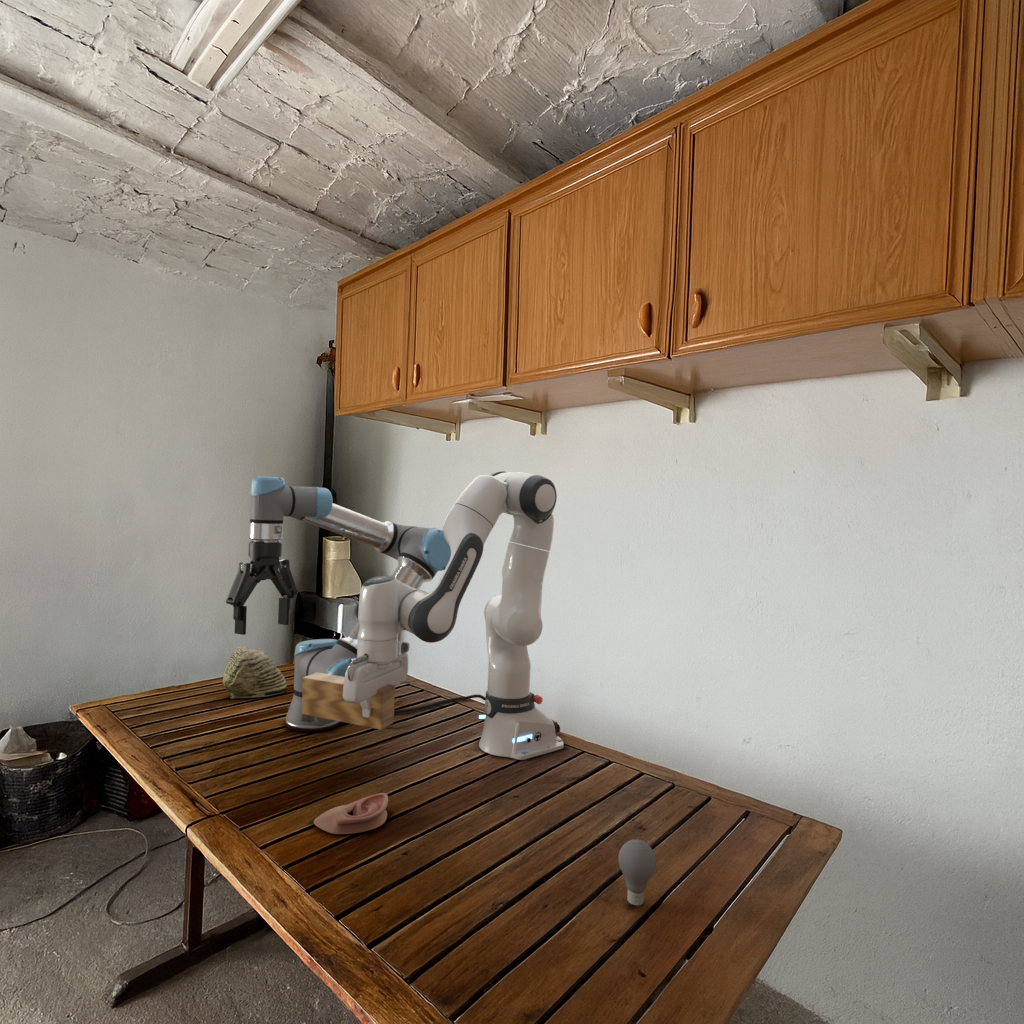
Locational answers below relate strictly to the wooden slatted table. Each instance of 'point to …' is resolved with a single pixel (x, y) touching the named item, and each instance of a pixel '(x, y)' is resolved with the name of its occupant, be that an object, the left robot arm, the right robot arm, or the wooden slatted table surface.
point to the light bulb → (636, 868)
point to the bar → (327, 702)
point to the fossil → (252, 674)
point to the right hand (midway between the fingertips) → (376, 711)
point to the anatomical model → (355, 816)
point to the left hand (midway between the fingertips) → (262, 629)
